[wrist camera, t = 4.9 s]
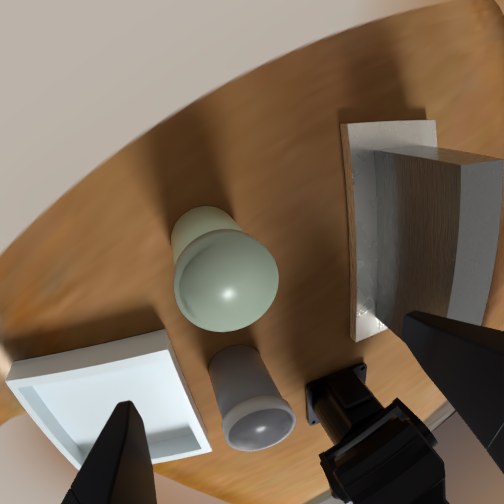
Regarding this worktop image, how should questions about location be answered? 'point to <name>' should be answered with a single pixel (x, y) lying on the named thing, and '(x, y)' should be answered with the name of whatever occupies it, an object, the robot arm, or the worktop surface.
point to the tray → (111, 396)
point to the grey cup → (248, 400)
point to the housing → (417, 225)
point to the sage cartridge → (220, 271)
